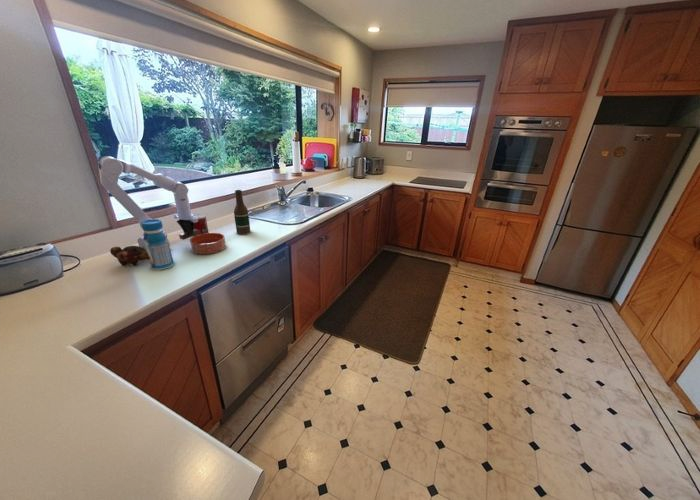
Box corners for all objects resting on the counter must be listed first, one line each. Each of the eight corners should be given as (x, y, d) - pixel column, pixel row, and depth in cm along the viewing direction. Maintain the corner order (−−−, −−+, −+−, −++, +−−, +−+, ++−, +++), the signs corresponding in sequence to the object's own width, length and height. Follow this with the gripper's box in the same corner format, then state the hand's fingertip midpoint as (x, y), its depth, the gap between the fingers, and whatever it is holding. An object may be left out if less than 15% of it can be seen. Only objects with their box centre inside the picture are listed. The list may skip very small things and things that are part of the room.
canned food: (204, 238, 149) (201, 218, 145) (190, 237, 149) (185, 218, 145) (211, 233, 156) (208, 214, 152) (197, 232, 156) (193, 213, 152)
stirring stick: (183, 239, 137) (182, 235, 136) (179, 238, 138) (178, 234, 137) (199, 233, 144) (198, 229, 143) (196, 233, 145) (195, 228, 144)
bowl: (207, 257, 129) (205, 246, 126) (185, 251, 134) (182, 240, 132) (232, 246, 141) (231, 236, 139) (211, 240, 147) (209, 230, 144)
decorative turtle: (118, 259, 124) (114, 242, 121) (157, 259, 128) (155, 242, 125) (106, 269, 115) (102, 250, 112) (149, 268, 119) (146, 250, 116)
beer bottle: (253, 230, 162) (248, 189, 153) (247, 235, 155) (242, 192, 145) (240, 229, 163) (234, 188, 153) (233, 234, 156) (227, 191, 146)
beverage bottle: (163, 271, 115) (151, 225, 107) (146, 269, 117) (132, 223, 109) (179, 262, 123) (168, 219, 115) (162, 260, 124) (151, 217, 116)
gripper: (201, 207, 135) (206, 233, 141) (180, 203, 141) (186, 229, 146) (188, 211, 129) (193, 238, 135) (167, 206, 135) (173, 233, 140)
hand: (189, 233), depth 140 cm, fingers closed on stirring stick, 2 cm apart
